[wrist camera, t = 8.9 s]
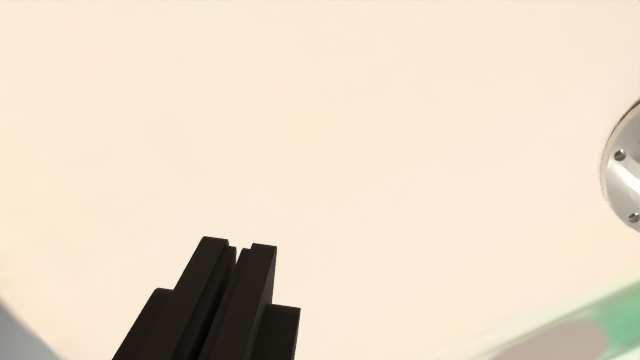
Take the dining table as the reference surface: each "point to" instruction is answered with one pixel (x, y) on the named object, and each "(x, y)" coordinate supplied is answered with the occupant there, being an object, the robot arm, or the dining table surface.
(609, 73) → the dining table surface
